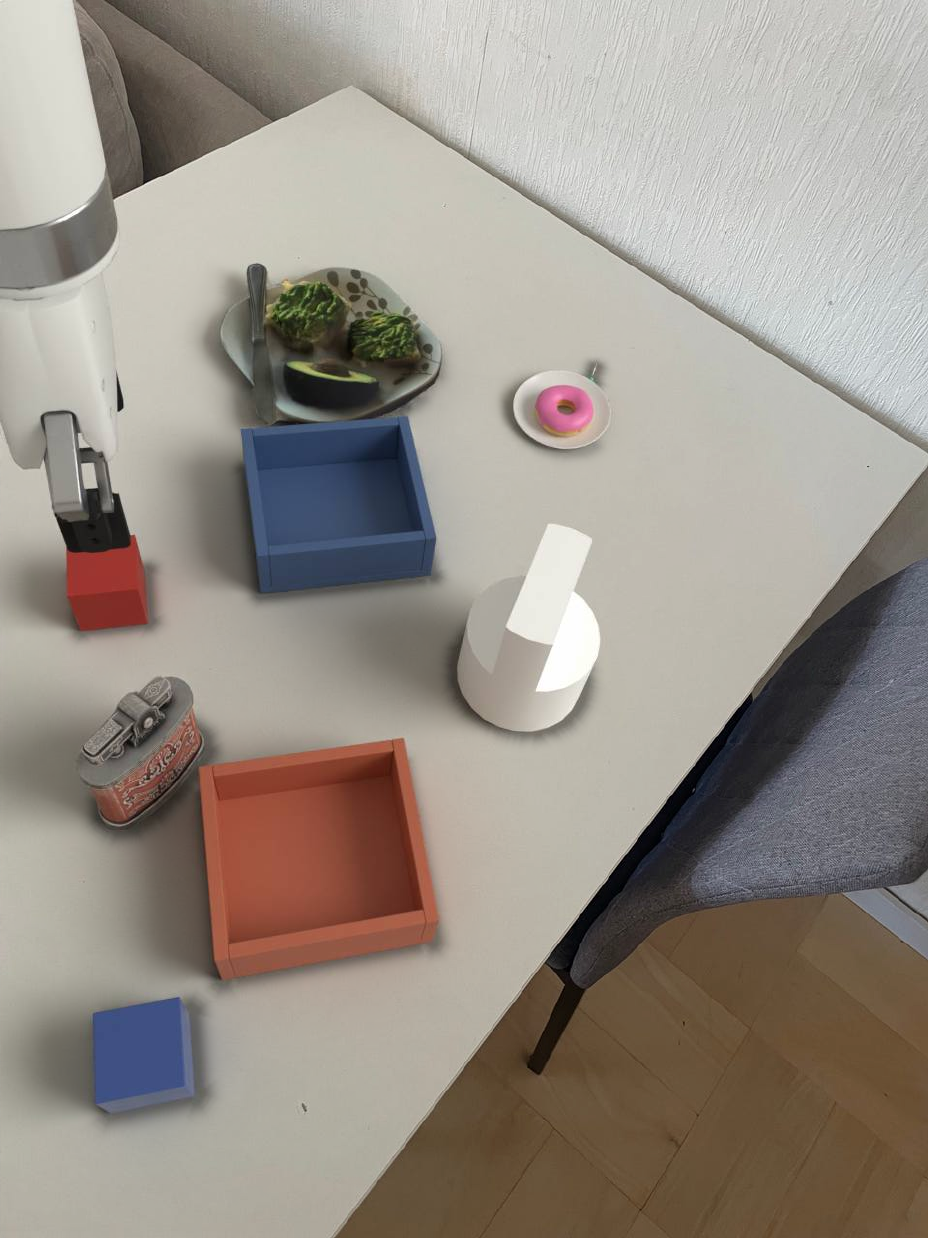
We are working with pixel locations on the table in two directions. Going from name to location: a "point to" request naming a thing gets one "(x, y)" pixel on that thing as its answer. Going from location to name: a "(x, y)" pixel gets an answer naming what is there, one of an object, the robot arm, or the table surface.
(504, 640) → the cylinder with rectangular tab
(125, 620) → the red block
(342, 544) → the blue bin
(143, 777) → the lighter
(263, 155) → the table surface
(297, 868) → the terracotta bin
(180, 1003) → the blue block
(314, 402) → the salad plate
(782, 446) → the table surface
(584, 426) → the donut
